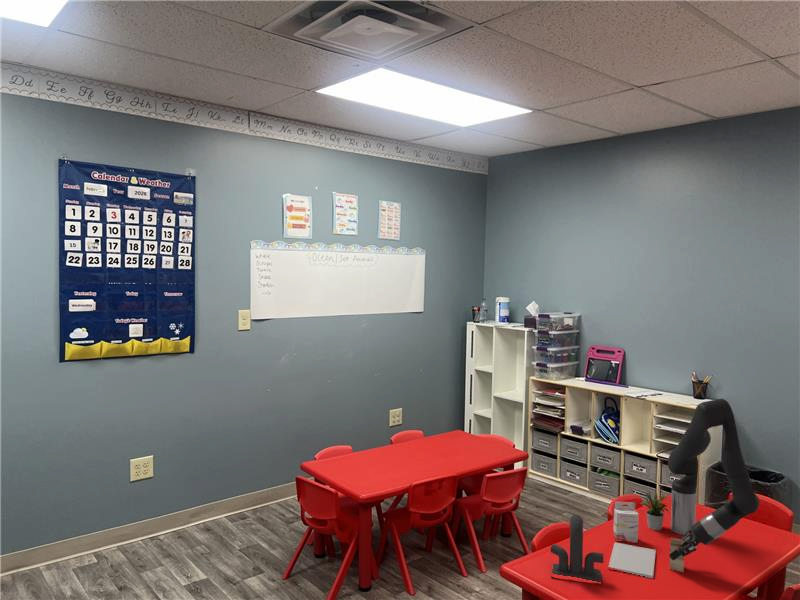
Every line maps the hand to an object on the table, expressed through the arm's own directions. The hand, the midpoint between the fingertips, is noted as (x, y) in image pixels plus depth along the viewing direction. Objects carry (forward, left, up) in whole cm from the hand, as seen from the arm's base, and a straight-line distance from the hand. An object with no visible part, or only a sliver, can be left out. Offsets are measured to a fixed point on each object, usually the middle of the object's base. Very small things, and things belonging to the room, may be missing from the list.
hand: (671, 554), depth 220 cm
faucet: (+18, -31, -5) cm, 36 cm away
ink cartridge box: (-17, -17, -5) cm, 25 cm away
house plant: (-34, -8, -5) cm, 35 cm away
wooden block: (0, +2, -5) cm, 5 cm away
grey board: (+1, -13, -5) cm, 14 cm away
